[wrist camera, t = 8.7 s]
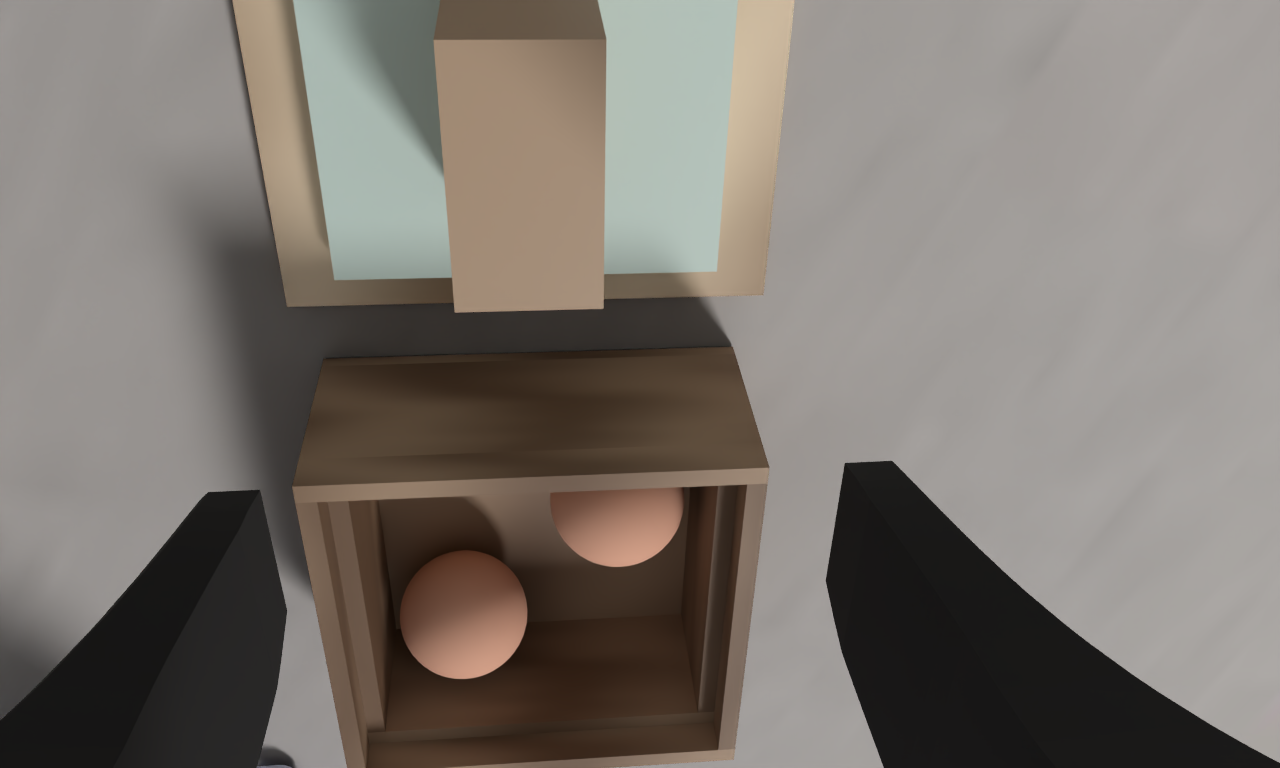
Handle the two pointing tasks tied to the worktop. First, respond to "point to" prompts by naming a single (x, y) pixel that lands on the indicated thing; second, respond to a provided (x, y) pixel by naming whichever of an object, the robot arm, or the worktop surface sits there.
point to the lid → (519, 141)
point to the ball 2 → (618, 522)
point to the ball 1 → (463, 614)
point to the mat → (311, 278)
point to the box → (535, 552)
